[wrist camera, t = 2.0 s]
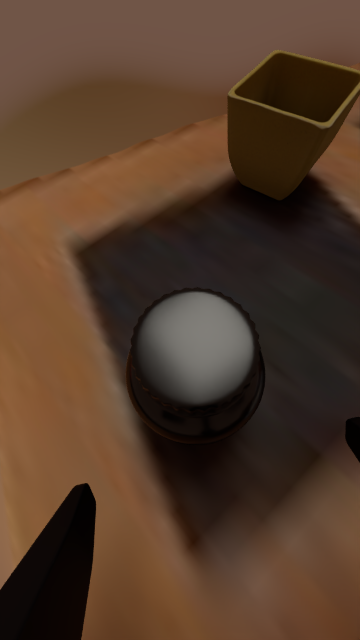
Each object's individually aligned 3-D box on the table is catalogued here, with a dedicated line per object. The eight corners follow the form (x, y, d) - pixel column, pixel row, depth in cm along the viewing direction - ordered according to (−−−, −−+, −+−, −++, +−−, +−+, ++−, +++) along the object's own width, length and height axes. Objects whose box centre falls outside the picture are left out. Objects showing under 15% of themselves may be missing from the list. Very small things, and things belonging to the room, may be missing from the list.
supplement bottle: (133, 387, 21) (66, 326, 10) (200, 336, 23) (205, 235, 12) (187, 466, 18) (176, 497, 8) (259, 403, 20) (334, 353, 9)
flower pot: (325, 172, 30) (373, 71, 22) (289, 221, 27) (329, 126, 19) (255, 146, 33) (275, 47, 24) (216, 189, 30) (224, 93, 22)
